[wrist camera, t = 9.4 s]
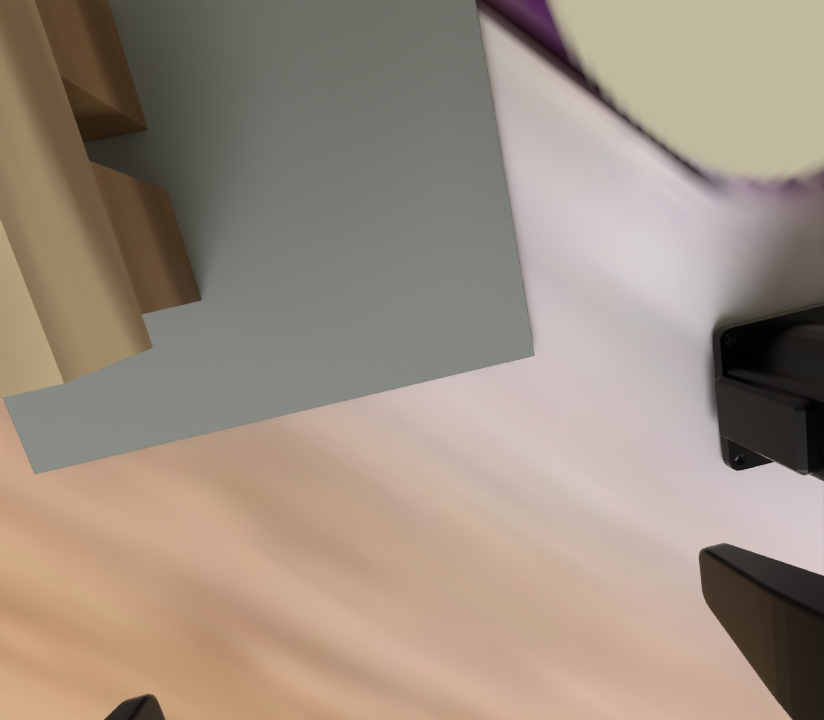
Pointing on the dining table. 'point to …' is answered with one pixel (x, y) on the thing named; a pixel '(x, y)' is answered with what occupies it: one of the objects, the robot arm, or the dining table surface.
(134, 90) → the walnut post
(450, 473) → the dining table surface
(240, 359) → the slate mat
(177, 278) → the walnut post
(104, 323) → the maple plank
